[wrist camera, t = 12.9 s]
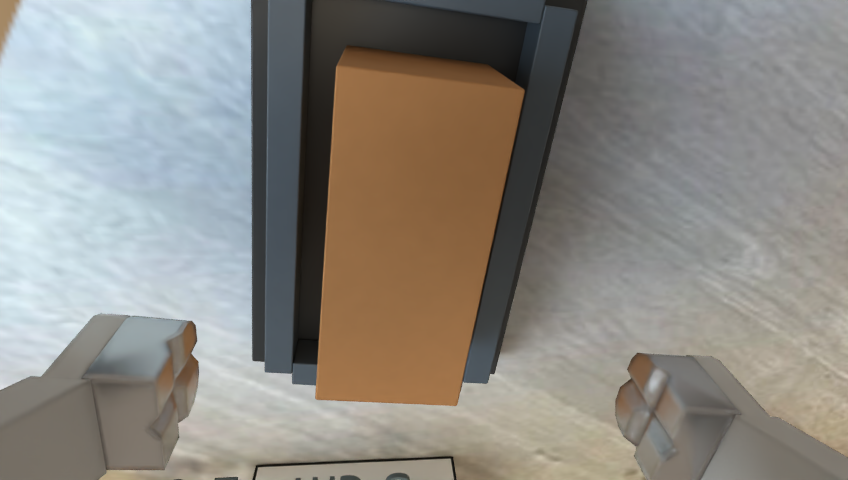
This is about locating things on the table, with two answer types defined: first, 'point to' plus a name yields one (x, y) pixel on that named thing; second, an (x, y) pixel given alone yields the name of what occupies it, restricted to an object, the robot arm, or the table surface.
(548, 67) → the dark gray rectangular tray
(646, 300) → the table surface
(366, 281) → the brown rectangular block
